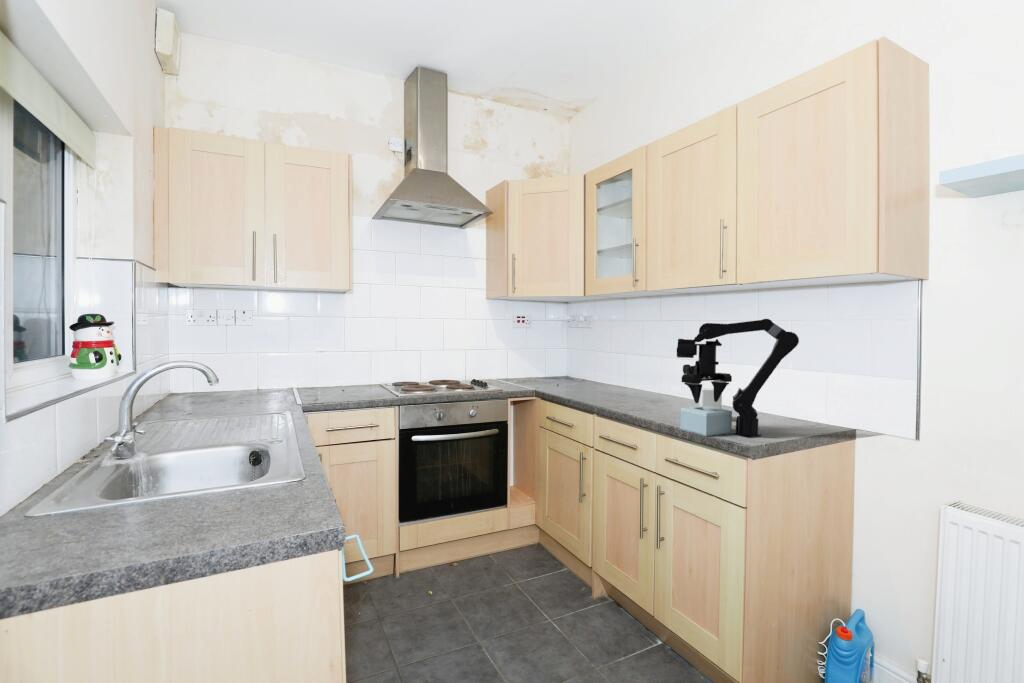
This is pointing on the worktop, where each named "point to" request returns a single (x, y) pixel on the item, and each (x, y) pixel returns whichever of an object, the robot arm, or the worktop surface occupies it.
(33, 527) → the worktop surface
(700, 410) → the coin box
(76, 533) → the worktop surface
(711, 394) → the supplement box
